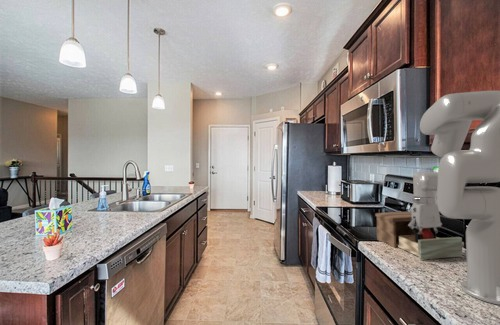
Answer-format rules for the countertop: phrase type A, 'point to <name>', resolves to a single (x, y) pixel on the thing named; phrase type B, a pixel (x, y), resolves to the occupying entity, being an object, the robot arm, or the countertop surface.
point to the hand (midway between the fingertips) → (425, 241)
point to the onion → (427, 234)
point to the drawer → (432, 247)
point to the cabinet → (393, 226)
